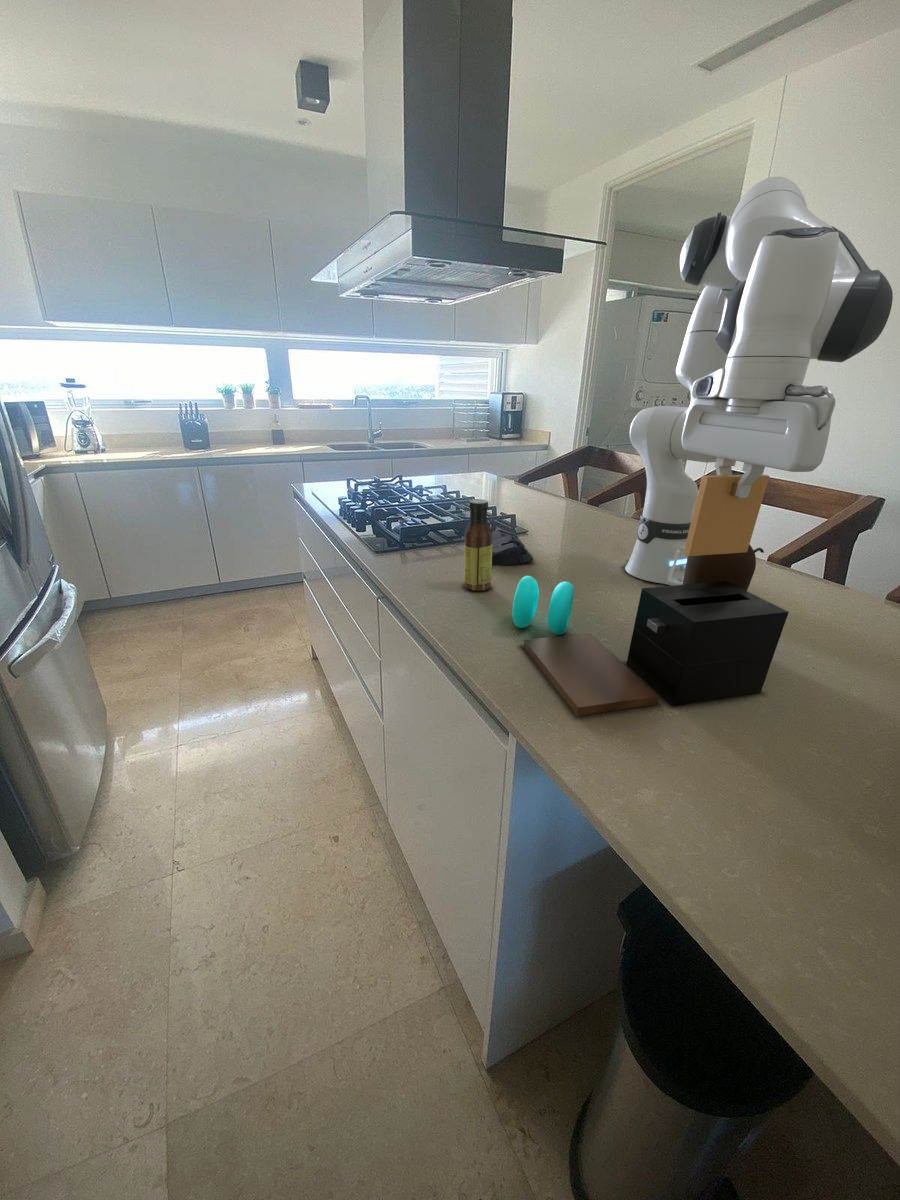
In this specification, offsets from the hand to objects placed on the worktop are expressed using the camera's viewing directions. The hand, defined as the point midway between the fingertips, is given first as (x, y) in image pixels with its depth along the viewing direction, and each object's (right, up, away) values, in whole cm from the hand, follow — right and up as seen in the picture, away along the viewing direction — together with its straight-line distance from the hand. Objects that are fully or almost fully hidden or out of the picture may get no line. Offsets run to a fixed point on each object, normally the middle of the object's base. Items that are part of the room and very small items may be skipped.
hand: (731, 494), depth 67 cm
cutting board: (-17, -26, +13) cm, 34 cm away
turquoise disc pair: (-21, -20, +27) cm, 40 cm away
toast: (0, -8, +3) cm, 8 cm away
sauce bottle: (-32, -12, +45) cm, 56 cm away
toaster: (+1, -27, +12) cm, 30 cm away
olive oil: (+8, -22, +25) cm, 34 cm away
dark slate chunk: (-25, -1, +68) cm, 73 cm away
